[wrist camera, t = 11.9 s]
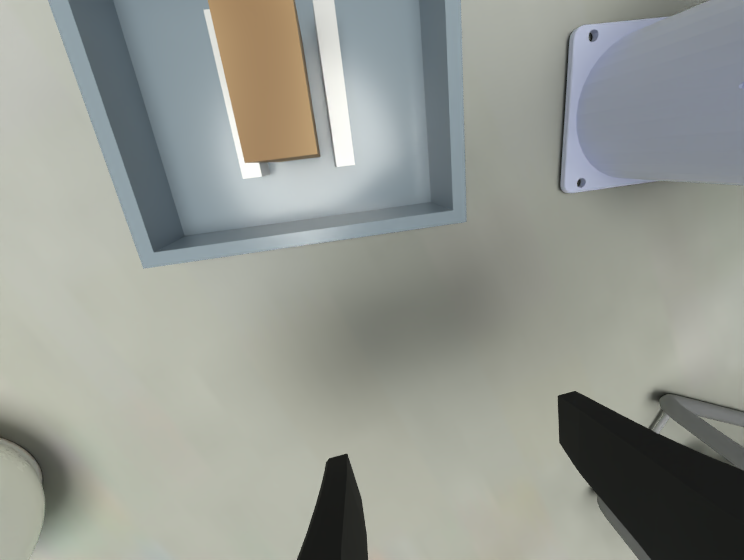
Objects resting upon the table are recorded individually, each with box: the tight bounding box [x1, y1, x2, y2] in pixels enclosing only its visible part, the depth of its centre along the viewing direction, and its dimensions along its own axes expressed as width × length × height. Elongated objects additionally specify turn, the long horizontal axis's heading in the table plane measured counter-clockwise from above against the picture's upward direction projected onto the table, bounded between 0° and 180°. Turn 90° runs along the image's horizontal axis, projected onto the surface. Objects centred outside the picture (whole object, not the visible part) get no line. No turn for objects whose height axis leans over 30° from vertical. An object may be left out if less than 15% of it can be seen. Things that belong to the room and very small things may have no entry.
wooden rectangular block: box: [208, 0, 320, 163], centre depth 13 cm, size 2×5×8 cm, turn 7°
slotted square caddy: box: [48, 0, 467, 269], centre depth 15 cm, size 14×12×4 cm
